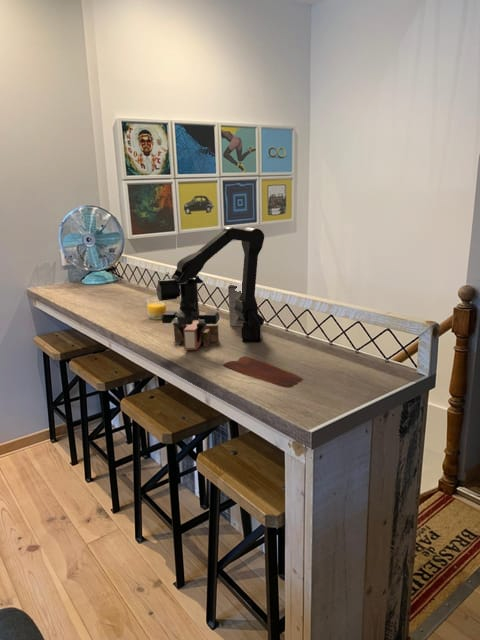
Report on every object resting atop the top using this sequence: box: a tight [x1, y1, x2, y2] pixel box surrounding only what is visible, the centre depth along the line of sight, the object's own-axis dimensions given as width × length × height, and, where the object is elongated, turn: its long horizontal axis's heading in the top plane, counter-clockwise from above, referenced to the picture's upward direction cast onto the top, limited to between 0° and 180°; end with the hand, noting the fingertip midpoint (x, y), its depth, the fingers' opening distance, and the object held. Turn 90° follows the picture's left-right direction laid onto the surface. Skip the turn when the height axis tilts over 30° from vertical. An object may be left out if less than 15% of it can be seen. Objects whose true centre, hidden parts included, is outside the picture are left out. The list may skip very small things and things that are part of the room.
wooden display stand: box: [173, 323, 220, 347], centre depth 174 cm, size 16×6×6 cm, turn 81°
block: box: [184, 320, 204, 351], centre depth 169 cm, size 4×10×7 cm, turn 171°
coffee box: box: [227, 284, 244, 327], centre depth 195 cm, size 9×6×16 cm
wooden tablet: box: [223, 355, 304, 388], centre depth 147 cm, size 27×10×2 cm, turn 44°
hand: (192, 341), depth 167 cm, fingers closed on block, 4 cm apart
